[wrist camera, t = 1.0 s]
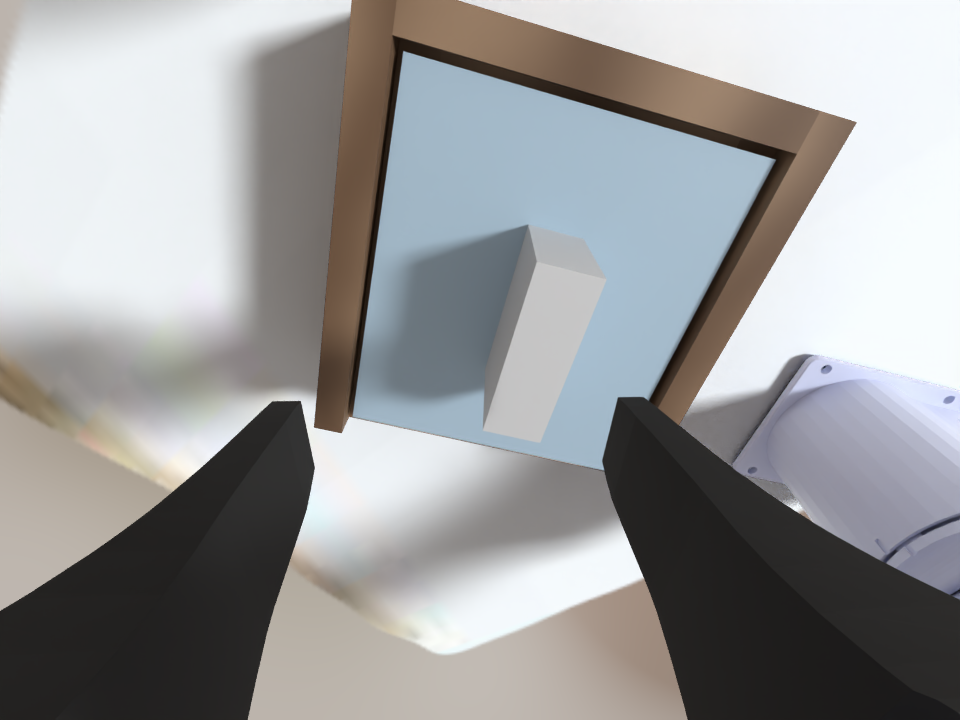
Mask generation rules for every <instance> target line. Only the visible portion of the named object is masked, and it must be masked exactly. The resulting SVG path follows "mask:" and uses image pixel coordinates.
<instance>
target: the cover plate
mask: <svg viewBox="0 0 960 720" xmlns="http://www.w3.org/2000/svg"><path fill="white" fill-rule="evenodd" d="M775 161H776V160H775V159H771V158H768V157H765V156H761V155H758V154H754V153H751V152H747V151H744V150H741V149H737V148H734V147H730V146H727V145H723V144H720V143H717V142H713V141H710V140H706V139H703V138H699V137H696V136H693V135H689V134H686V133H682V132H679V131H675V130H672V129H669V128H665V127H662V126H658V125H655V124H651V123H648V122H645V121H641V120H638V119H634V118H631V117H627V116H624V115H620V114H617V113H614V112H610V111H607V110H603V109H600V108H596V107H593V106H590V105H586V104H583V103H579V102H576V101H572V100H569V99H566V98H562V97H559V96H555V95H552V94H548V93H545V92H542V91H538V90H535V89H531V88H528V87H524V86H521V85H518V84H514V83H511V82H507V81H504V80H500V79H497V78H494V77H490V76H487V75H483V74H480V73H476V72H473V71H470V70H466V69H463V68H459V67H456V66H452V65H449V64H446V63H442V62H439V61H435V60H432V59H428V58H425V57H422V56H418V55H415V54H411V53H408V52H404V51H403V59H402V66H401V73H400V80H399V87H398V94H397V102H396V109H395V116H394V123H393V130H392V137H391V145H390V152H389V159H388V166H387V173H386V181H385V188H384V195H383V202H382V209H381V216H380V224H379V231H378V238H377V245H376V252H375V259H374V267H373V274H372V281H371V288H370V295H369V303H368V310H367V317H366V324H365V331H364V338H363V346H362V353H361V360H360V367H359V374H358V382H357V389H356V396H355V403H354V410H353V417H356V418H361V419H365V420H370V421H375V422H379V423H384V424H389V425H393V426H398V427H403V428H407V429H412V430H417V431H421V432H426V433H431V434H435V435H440V436H445V437H450V438H454V439H459V440H464V441H468V442H473V443H478V444H482V445H487V446H492V447H496V448H501V449H506V450H510V451H515V452H520V453H524V454H529V455H534V456H538V457H543V458H548V459H552V460H557V461H562V462H566V463H571V464H576V465H580V466H585V467H590V468H594V469H599V470H604V467H603V463H602V459H603V455H604V451H605V447H606V443H607V439H608V435H609V431H610V427H611V423H612V419H613V415H614V411H615V407H616V403H617V399H618V397H644V398H645V399H647V400H648V401H649V399H650V397H651V395H652V394H653V392H654V390H655V388H656V386H657V384H658V382H659V380H660V378H661V377H662V375H663V373H664V371H665V369H666V367H667V365H668V363H669V361H670V360H671V358H672V356H673V354H674V352H675V350H676V348H677V346H678V344H679V343H680V341H681V339H682V337H683V335H684V333H685V331H686V329H687V327H688V326H689V324H690V322H691V320H692V318H693V316H694V314H695V312H696V310H697V308H698V307H699V305H700V303H701V301H702V299H703V297H704V295H705V293H706V291H707V290H708V288H709V286H710V284H711V282H712V280H713V278H714V276H715V274H716V273H717V271H718V269H719V267H720V265H721V263H722V261H723V259H724V257H725V256H726V254H727V252H728V250H729V248H730V246H731V244H732V242H733V240H734V239H735V237H736V235H737V233H738V231H739V229H740V227H741V225H742V223H743V221H744V220H745V218H746V216H747V214H748V212H749V210H750V208H751V206H752V204H753V203H754V201H755V199H756V197H757V195H758V193H759V191H760V189H761V187H762V186H763V184H764V182H765V180H766V178H767V176H768V174H769V172H770V170H771V169H772V167H773V165H774V163H775Z"/></svg>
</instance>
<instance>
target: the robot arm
mask: <svg viewBox="0 0 960 720" xmlns="http://www.w3.org/2000/svg"><path fill="white" fill-rule="evenodd" d="M826 365H827V366H826ZM823 366H826V367H825V368H824V369H822V370H821V368H822V367H823ZM602 463H603V467H604V471H605V475H606V479H607V483H608V487H609V490H610V494H611V498H612V501H613V503H614V506H615V509H616V511H617V514H618V516H619V518H620V521H621V523H622V526H623V528H624V531H625V533H626V536H627V538H628V541H629V543H630V545H631V548H632V550H633V553H634V555H635V557H636V560H637V562H638V565H639V567H640V570H641V572H642V574H643V577H644V579H645V582H646V584H647V586H648V589H649V592H650V594H651V597H652V600H653V602H654V605H655V608H656V611H657V614H658V617H659V620H660V624H661V627H662V630H663V633H664V637H665V640H666V644H667V647H668V650H669V653H670V657H671V660H672V664H673V667H674V671H675V675H676V678H677V682H678V685H679V689H680V692H681V696H682V699H683V703H684V707H685V711H686V715H687V719H688V720H960V390H956V389H952V388H948V387H944V386H940V385H936V384H932V383H928V382H924V381H920V380H916V379H912V378H908V377H904V376H900V375H896V374H892V373H888V372H884V371H880V370H876V369H872V368H868V367H864V366H860V365H856V364H852V363H848V362H844V361H840V360H836V359H832V358H828V357H824V356H820V355H814V356H811V357H809V358H807V359H806V360H805V361H804V363H803V364H802V366H801V367H800V368H799V370H798V371H797V373H796V374H795V376H794V377H793V378H792V380H791V381H790V383H789V384H788V386H787V387H786V388H785V390H784V391H783V393H782V394H781V396H780V397H779V398H778V400H777V401H776V403H775V404H774V406H773V407H772V408H771V410H770V411H769V413H768V414H767V416H766V417H765V418H764V420H763V421H762V423H761V424H760V426H759V427H758V429H757V430H756V431H755V433H754V434H753V436H752V437H751V439H750V440H749V441H748V443H747V444H746V446H745V447H744V449H743V450H742V451H741V453H740V454H739V456H738V457H737V459H736V460H735V461H734V463H733V468H732V467H731V466H729V465H728V464H727V463H725V462H724V461H723V460H721V459H720V458H719V457H718V456H716V455H715V454H714V453H712V452H711V451H710V450H709V449H707V448H706V447H705V446H704V445H702V444H701V443H700V442H699V441H697V440H696V439H695V438H694V437H693V436H691V435H690V434H689V433H688V432H686V431H685V430H684V429H683V428H682V427H680V426H679V425H678V424H677V423H675V422H674V421H673V420H672V419H671V418H669V417H668V416H667V415H666V414H665V413H663V412H662V411H661V410H660V409H658V408H657V407H656V406H655V405H653V404H652V403H651V402H650V401H648V400H647V399H645V398H644V397H618V399H617V403H616V407H615V411H614V415H613V419H612V423H611V427H610V431H609V435H608V439H607V443H606V447H605V451H604V455H603V459H602ZM751 467H752V468H751ZM749 468H750V469H749ZM314 469H315V467H314V462H313V457H312V452H311V448H310V443H309V438H308V433H307V429H306V424H305V419H304V414H303V409H302V405H301V401H272V402H271V403H270V404H269V405H268V406H267V407H266V408H265V409H264V410H263V411H262V412H260V413H259V414H258V415H257V416H256V417H255V418H254V419H253V420H252V421H251V422H250V423H249V424H248V425H247V426H246V427H245V428H244V429H243V430H241V431H240V432H239V433H238V434H237V435H236V436H235V437H234V438H233V439H232V440H231V441H230V442H229V443H228V444H227V445H226V446H225V447H223V448H222V449H221V450H220V451H219V452H218V453H217V454H216V455H215V456H214V457H212V458H211V459H210V460H209V461H208V462H207V463H206V464H205V465H204V466H203V467H202V468H200V469H199V470H198V471H197V472H196V473H195V474H193V475H192V476H191V477H190V478H189V479H187V480H186V481H185V482H184V483H183V484H181V485H180V486H179V487H178V488H177V489H176V490H174V491H173V492H172V493H171V494H170V495H168V496H167V497H166V498H165V499H164V500H162V502H160V503H159V504H158V505H156V506H155V507H154V508H152V509H151V510H150V511H149V512H148V513H146V514H145V515H144V516H142V517H141V518H140V519H138V520H137V521H136V522H134V523H133V524H132V525H130V526H129V527H127V528H126V529H125V530H123V531H122V532H121V533H119V534H118V535H116V536H115V537H114V538H112V539H111V540H109V541H108V542H107V543H105V544H104V545H102V546H101V547H100V548H98V549H97V550H95V551H94V552H92V553H91V554H89V555H88V556H86V557H85V558H83V559H82V560H80V561H79V562H77V563H75V564H74V565H72V566H71V567H69V568H68V569H66V570H65V571H64V572H62V573H60V574H59V575H57V576H56V577H54V578H52V579H51V580H49V581H48V582H46V583H45V584H43V585H42V586H40V587H38V588H37V589H35V590H34V591H32V592H31V593H29V594H28V595H26V596H25V597H23V598H21V599H19V600H18V601H16V602H14V603H13V604H11V605H9V606H8V607H6V608H4V609H3V610H1V611H0V720H248V715H249V711H250V706H251V701H252V696H253V692H254V687H255V682H256V678H257V673H258V669H259V665H260V661H261V656H262V652H263V648H264V643H265V639H266V634H267V631H268V627H269V624H270V620H271V616H272V613H273V610H274V606H275V603H276V601H277V597H278V595H279V592H280V589H281V586H282V582H283V580H284V576H285V573H286V571H287V568H288V565H289V562H290V559H291V556H292V553H293V550H294V547H295V544H296V541H297V538H298V535H299V532H300V529H301V526H302V522H303V519H304V516H305V513H306V510H307V505H308V500H309V496H310V491H311V485H312V480H313V475H314ZM743 475H745V476H750V477H754V478H759V479H763V480H768V481H772V482H777V483H781V484H785V485H786V486H787V487H788V489H789V490H790V491H791V493H792V494H793V496H794V497H795V498H796V500H797V501H798V502H799V504H800V505H801V507H802V508H803V509H804V511H805V512H806V513H807V515H808V516H809V517H810V519H811V520H812V521H810V520H809V519H807V518H805V517H804V516H802V515H801V514H799V513H797V512H796V511H794V510H793V509H791V508H790V507H788V506H786V505H785V504H783V503H782V502H780V501H779V500H777V499H776V498H774V497H773V496H771V495H770V494H768V493H767V492H765V491H764V490H762V489H761V488H760V487H758V486H757V485H755V484H754V483H753V482H751V481H750V480H748V479H747V478H746V477H744V476H743Z"/></svg>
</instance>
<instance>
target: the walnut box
mask: <svg viewBox="0 0 960 720" xmlns="http://www.w3.org/2000/svg"><path fill="white" fill-rule="evenodd" d="M403 51H404V52H408V53H411V54H415V55H418V56H422V57H425V58H428V59H432V60H435V61H439V62H442V63H446V64H449V65H452V66H456V67H459V68H463V69H466V70H470V71H473V72H476V73H480V74H483V75H487V76H490V77H494V78H497V79H500V80H504V81H507V82H511V83H514V84H518V85H521V86H524V87H528V88H531V89H535V90H538V91H542V92H545V93H548V94H552V95H555V96H559V97H562V98H566V99H569V100H572V101H576V102H579V103H583V104H586V105H590V106H593V107H596V108H600V109H603V110H607V111H610V112H614V113H617V114H620V115H624V116H627V117H631V118H634V119H638V120H641V121H645V122H648V123H651V124H655V125H658V126H662V127H665V128H669V129H672V130H675V131H679V132H682V133H686V134H689V135H693V136H696V137H699V138H703V139H706V140H710V141H713V142H717V143H720V144H723V145H727V146H730V147H734V148H737V149H741V150H744V151H747V152H751V153H754V154H758V155H761V156H765V157H768V158H771V159H775V160H776V161H775V163H774V165H773V167H772V169H771V170H770V172H769V174H768V176H767V178H766V180H765V182H764V184H763V186H762V187H761V189H760V191H759V193H758V195H757V197H756V199H755V201H754V203H753V204H752V206H751V208H750V210H749V212H748V214H747V216H746V218H745V220H744V221H743V223H742V225H741V227H740V229H739V231H738V233H737V235H736V237H735V239H734V240H733V242H732V244H731V246H730V248H729V250H728V252H727V254H726V256H725V257H724V259H723V261H722V263H721V265H720V267H719V269H718V271H717V273H716V274H715V276H714V278H713V280H712V282H711V284H710V286H709V288H708V290H707V291H706V293H705V295H704V297H703V299H702V301H701V303H700V305H699V307H698V308H697V310H696V312H695V314H694V316H693V318H692V320H691V322H690V324H689V326H688V327H687V329H686V331H685V333H684V335H683V337H682V339H681V341H680V343H679V344H678V346H677V348H676V350H675V352H674V354H673V356H672V358H671V360H670V361H669V363H668V365H667V367H666V369H665V371H664V373H663V375H662V377H661V378H660V380H659V382H658V384H657V386H656V388H655V390H654V392H653V394H652V395H651V397H650V399H649V401H650V402H651V403H652V404H653V405H655V406H656V407H657V408H658V409H660V410H661V411H662V412H663V413H665V414H666V415H667V416H668V417H669V418H671V419H672V420H673V421H674V422H675V423H677V424H678V425H679V424H680V422H681V421H682V419H683V417H684V415H685V414H686V412H687V410H688V409H689V407H690V405H691V404H692V402H693V400H694V398H695V397H696V395H697V393H698V392H699V390H700V388H701V387H702V385H703V383H704V381H705V380H706V378H707V376H708V375H709V373H710V371H711V370H712V368H713V366H714V364H715V363H716V361H717V359H718V358H719V356H720V354H721V353H722V351H723V349H724V347H725V346H726V344H727V342H728V341H729V339H730V337H731V336H732V334H733V332H734V330H735V329H736V327H737V325H738V324H739V322H740V320H741V318H742V317H743V315H744V313H745V312H746V310H747V308H748V307H749V305H750V303H751V301H752V300H753V298H754V296H755V295H756V293H757V291H758V290H759V288H760V286H761V284H762V283H763V281H764V279H765V278H766V276H767V274H768V273H769V271H770V269H771V267H772V266H773V264H774V262H775V261H776V259H777V257H778V256H779V254H780V252H781V250H782V249H783V247H784V245H785V244H786V242H787V240H788V238H789V237H790V235H791V233H792V232H793V230H794V228H795V227H796V225H797V223H798V221H799V220H800V218H801V216H802V215H803V213H804V211H805V210H806V208H807V206H808V204H809V203H810V201H811V199H812V198H813V196H814V194H815V193H816V191H817V189H818V187H819V186H820V184H821V182H822V181H823V179H824V177H825V176H826V174H827V172H828V170H829V169H830V167H831V165H832V164H833V162H834V160H835V159H836V157H837V155H838V153H839V152H840V150H841V148H842V147H843V145H844V143H845V141H846V140H847V138H848V136H849V135H850V133H851V131H852V130H853V128H854V126H855V124H856V123H857V122H854V121H851V120H848V119H845V118H841V117H838V116H835V115H831V114H828V113H825V112H822V111H818V110H815V109H812V108H809V107H805V106H802V105H799V104H795V103H792V102H789V101H786V100H782V99H779V98H776V97H772V96H769V95H766V94H763V93H759V92H756V91H753V90H750V89H746V88H743V87H740V86H736V85H733V84H730V83H727V82H723V81H720V80H717V79H714V78H710V77H707V76H704V75H700V74H697V73H694V72H691V71H687V70H684V69H681V68H678V67H674V66H671V65H668V64H664V63H661V62H658V61H655V60H651V59H648V58H645V57H642V56H638V55H635V54H632V53H628V52H625V51H622V50H619V49H615V48H612V47H609V46H606V45H602V44H599V43H596V42H592V41H589V40H586V39H583V38H579V37H576V36H573V35H569V34H566V33H563V32H560V31H556V30H553V29H550V28H547V27H543V26H540V25H537V24H533V23H530V22H527V21H524V20H520V19H517V18H514V17H511V16H507V15H504V14H501V13H497V12H494V11H491V10H488V9H484V8H481V7H478V6H475V5H471V4H468V3H465V2H461V1H458V0H352V4H351V16H350V27H349V38H348V49H347V61H346V72H345V83H344V95H343V106H342V117H341V129H340V140H339V151H338V162H337V174H336V185H335V196H334V208H333V219H332V230H331V242H330V253H329V264H328V276H327V287H326V298H325V309H324V321H323V332H322V343H321V355H320V366H319V377H318V389H317V400H316V411H315V422H314V428H319V429H324V430H328V431H333V432H338V433H342V431H343V429H344V427H345V425H346V422H347V420H348V418H349V417H353V410H354V403H355V396H356V389H357V382H358V374H359V367H360V360H361V353H362V346H363V338H364V331H365V324H366V317H367V310H368V303H369V295H370V288H371V281H372V274H373V267H374V259H375V252H376V245H377V238H378V231H379V224H380V216H381V209H382V202H383V195H384V188H385V181H386V173H387V166H388V159H389V152H390V145H391V137H392V130H393V123H394V116H395V109H396V102H397V94H398V87H399V80H400V73H401V66H402V59H403ZM353 418H356V417H353ZM358 419H361V418H358ZM362 420H365V419H362ZM367 421H370V420H367ZM372 422H375V421H372ZM376 423H379V422H376ZM381 424H384V423H381ZM386 425H389V424H386ZM390 426H393V425H390ZM395 427H398V426H395ZM400 428H403V427H400ZM404 429H407V428H404ZM409 430H412V429H409ZM414 431H417V430H414ZM419 432H421V431H419ZM423 433H426V432H423ZM428 434H431V433H428ZM433 435H435V434H433ZM437 436H440V435H437ZM442 437H445V436H442ZM447 438H450V437H447ZM451 439H454V438H451ZM456 440H459V439H456ZM461 441H464V440H461ZM465 442H468V441H465ZM470 443H473V442H470ZM475 444H478V443H475ZM479 445H482V444H479ZM484 446H487V445H484ZM489 447H492V446H489ZM493 448H496V447H493ZM498 449H501V448H498ZM503 450H506V449H503ZM507 451H510V450H507ZM512 452H515V451H512ZM517 453H520V452H517ZM521 454H524V453H521ZM526 455H529V454H526ZM531 456H534V455H531ZM535 457H538V456H535ZM540 458H543V457H540ZM545 459H548V458H545ZM550 460H552V459H550ZM554 461H557V460H554ZM559 462H562V461H559ZM564 463H566V462H564ZM568 464H571V463H568ZM573 465H576V464H573ZM578 466H580V465H578ZM582 467H585V466H582ZM587 468H590V467H587ZM592 469H594V468H592ZM596 470H599V469H596ZM601 471H604V470H601Z"/></svg>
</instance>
